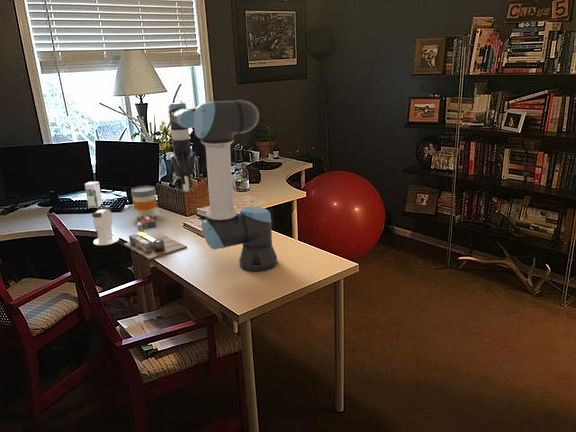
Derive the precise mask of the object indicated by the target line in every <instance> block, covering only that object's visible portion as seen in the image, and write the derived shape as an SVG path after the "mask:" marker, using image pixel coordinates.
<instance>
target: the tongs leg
mask: <svg viewBox="0 0 576 432" xmlns="http://www.w3.org/2000/svg"><path fill="white" fill-rule="evenodd" d="M135 234H136V235H138V236H140V237H141V238H143V239H145V240H146V241H148V242H150V243H151V247H152V248H154V251H156V252H160V251H164V250H165V246H164V240H163V239H157V240H156V239H154V238H152V237H150V236H151V235H149V234H148V233H146V232H145V231H144V232H142V231H141V232H137V233H135Z"/></svg>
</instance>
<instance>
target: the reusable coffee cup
mask: <svg viewBox="0 0 576 432" xmlns="http://www.w3.org/2000/svg"><path fill="white" fill-rule="evenodd" d="M130 190H131V191H130V192H131V193H130V194H131V197H132V204H133V206H134V210H135V211H136V215H137V218H138V219H139V218H140V217H142V216H148V215H150V216H152V218H153V219H154V217H156V207H157V197H156V194H157V191H156V187H155V186H151V185H143V186H142V185H141V186H136V187H133V188H131V189H130Z"/></svg>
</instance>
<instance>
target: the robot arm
mask: <svg viewBox="0 0 576 432" xmlns="http://www.w3.org/2000/svg"><path fill="white" fill-rule="evenodd" d="M259 113H260V112H259V110H258V108H257V106H255V105H254V104H253V103H252V102H250V101H247V100H243V99H235V100H221V101H220V100H219V101H209V102H208V101H207V102H202V103H200V104H198V106H196V107H194V108H192V107H191V108H187V104H186V103H185V102H172V103H169V104H168V115H169V124H170V125H169V126H170V132H171V139H172V141H171V143H172V148H173V151H172V153H173V154H171V155H170V156H169V157H168V159H169V161H171V164H172V167H173V171H174V173H175V177H179V178H180V183H181V185H182V191H184V192H189V191H190V182H191V181H190V177H191V176H192V175H193V174H194V164H195V159H196V158H195V157H196V155H197V153H196V152H194V151H192V149H191V141H190V139H189V138H190V131H189V129H192V128H193V129H194V134H195V136H196V137H197V138H198V139H200V143H201V144H202V145H204V147H205V158H206V171H207V172H206V173H207V186H208V199H209V210H208V211H207V212H206V214H205V215H206V219H203V220H202V221H201V230H202V234H203V236H204V240H205V241H206V244H207V245H208V246H209V248H210V249H212V250H218V249H224V248H225V249H226V248H229V247H234V246H238V245H242V248H241V252H240V256H239V261H238V262H239V267H240V268H241V269H242V270H245V271H247V272H263V271H264V272H266V271H269V270H271V269H273V268H275V267H276V266H277V265H278V257H277V254H276V251H275V249H274V247H273V237H272V233H273V232H272V218H271V212H270V211H269V210H268V209H267V208H265V207H260V206H253V205H252V206H243V207H242V208H240V209H239V213H238V210H236V209H235V208H234V198H233V197H234V195H233V194H234V193H233V177H232V161H231V144H233V142H234V141H235V135H239V134H245V133H247V132H250V131H252V130H253V129H254V128H255V127H256V126H257V124H258V122H259V120H260V119H259V118H260V115H259Z"/></svg>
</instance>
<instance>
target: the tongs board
mask: <svg viewBox="0 0 576 432" xmlns="http://www.w3.org/2000/svg"><path fill="white" fill-rule="evenodd" d="M149 236H150V237H152V238H154V239H156V240H157V239H163V240H164V246H165V250H164V251H160V252H156V251H154V248H152V247H151V243H150V242H148V241H146V240H145V239H143V238H141V237H140V236H138V235H136V233H135V234H130V235H128V238H129V241H128V242H125V243H123V246H125V247H126V248H128V249H129V250H131V251H132V252H134V253H137V254H138V255H140V256H141V257H144V259H146V260H148V261H152V260H154V259H158V258H161V257H163V255H164V256H167V255H170V254H173V253H175V252H179V250H180V251H182V249H183V250H186V249H188V246H187V245H185V244H183V243H181V242H179V241H176V240H175V239H172V238H171V237H169V236H166V235H164V234H162V233H160V232H159V233H156V234H153V235H149ZM185 248H186V249H185ZM166 254H167V255H166Z"/></svg>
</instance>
